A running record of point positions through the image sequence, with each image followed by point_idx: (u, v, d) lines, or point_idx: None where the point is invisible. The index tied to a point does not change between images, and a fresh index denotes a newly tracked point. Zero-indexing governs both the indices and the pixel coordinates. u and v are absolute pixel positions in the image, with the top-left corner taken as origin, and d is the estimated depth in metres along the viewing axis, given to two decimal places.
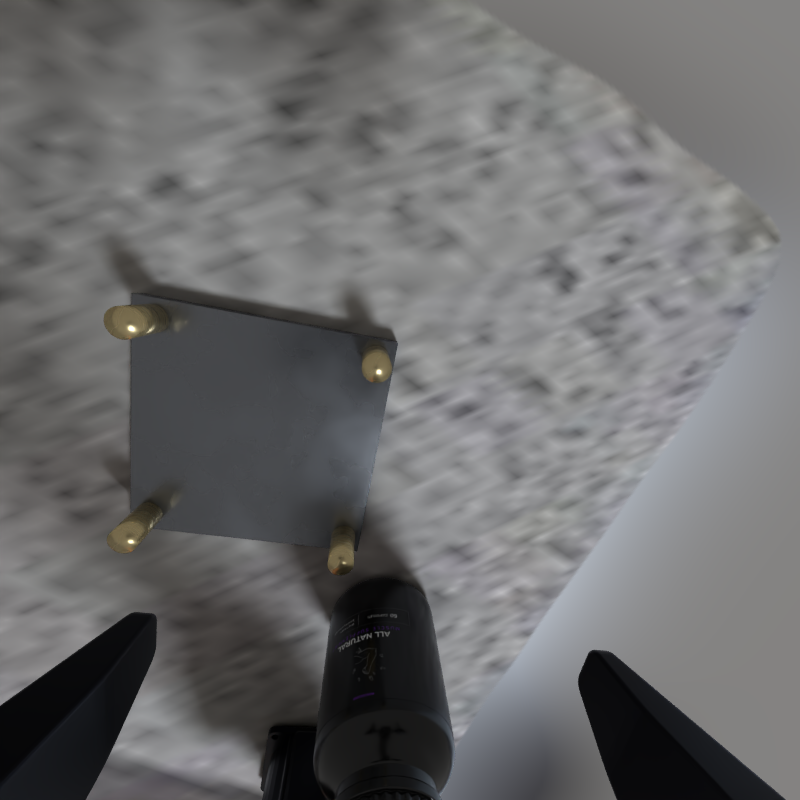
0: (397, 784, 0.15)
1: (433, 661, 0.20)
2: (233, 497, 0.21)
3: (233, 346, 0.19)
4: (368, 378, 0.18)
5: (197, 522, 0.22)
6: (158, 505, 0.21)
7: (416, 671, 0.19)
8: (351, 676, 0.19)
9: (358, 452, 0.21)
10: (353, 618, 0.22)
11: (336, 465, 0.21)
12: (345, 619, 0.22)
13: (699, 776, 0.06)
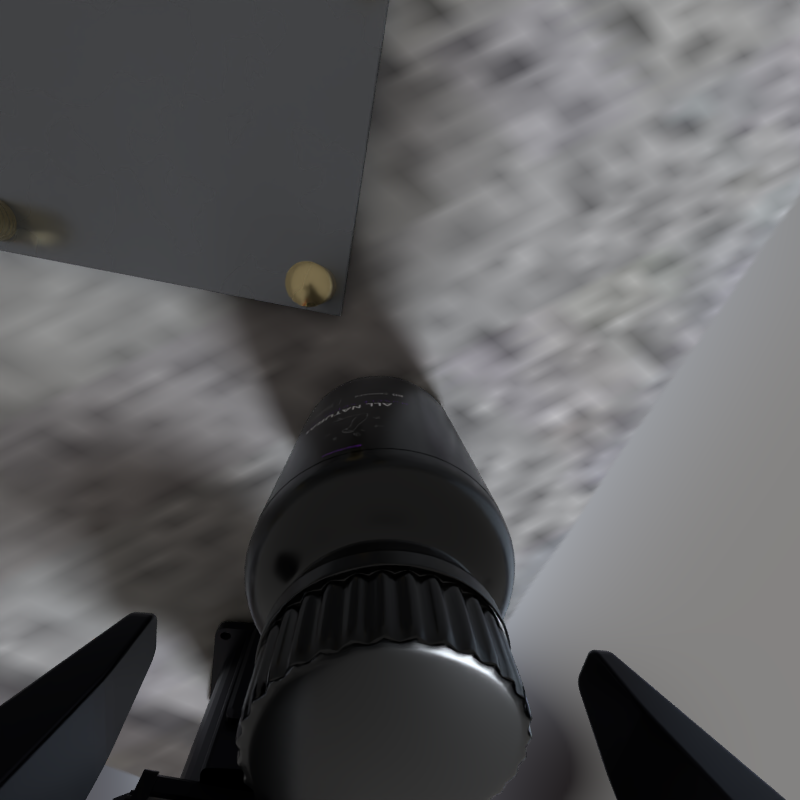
0: (409, 561, 0.07)
1: (465, 450, 0.12)
2: (134, 197, 0.13)
3: None
4: None
5: (77, 244, 0.13)
6: (7, 202, 0.13)
7: (439, 438, 0.10)
8: (321, 441, 0.10)
9: (339, 118, 0.13)
10: (333, 403, 0.13)
11: (303, 142, 0.13)
12: (319, 410, 0.14)
13: (699, 776, 0.06)
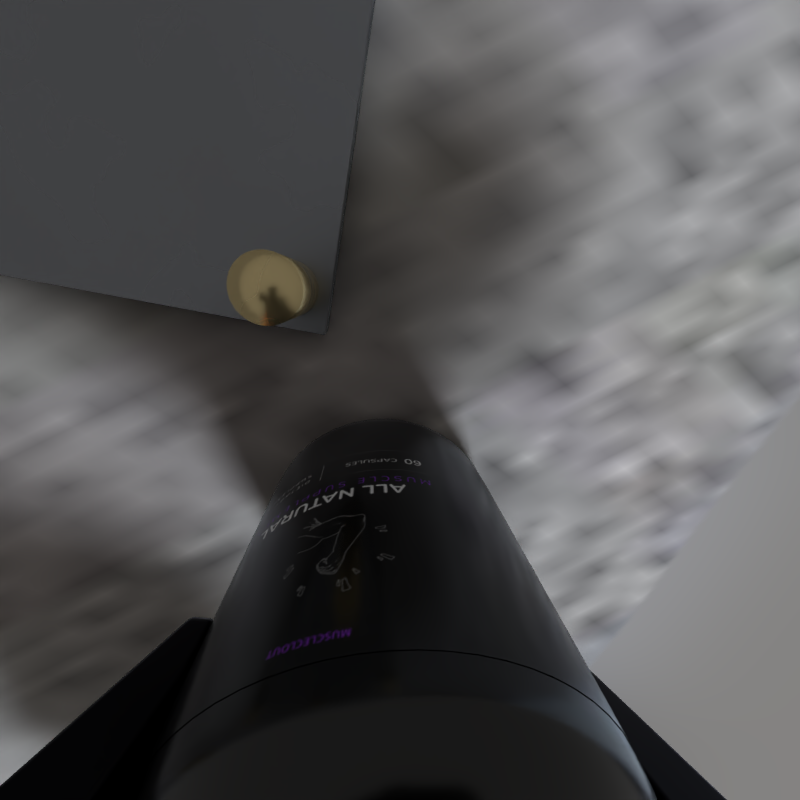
0: None
1: (528, 565, 0.07)
2: None
3: None
4: None
5: None
6: None
7: (497, 574, 0.06)
8: (277, 586, 0.05)
9: (320, 24, 0.08)
10: (312, 473, 0.09)
11: (263, 64, 0.08)
12: (291, 481, 0.09)
13: None
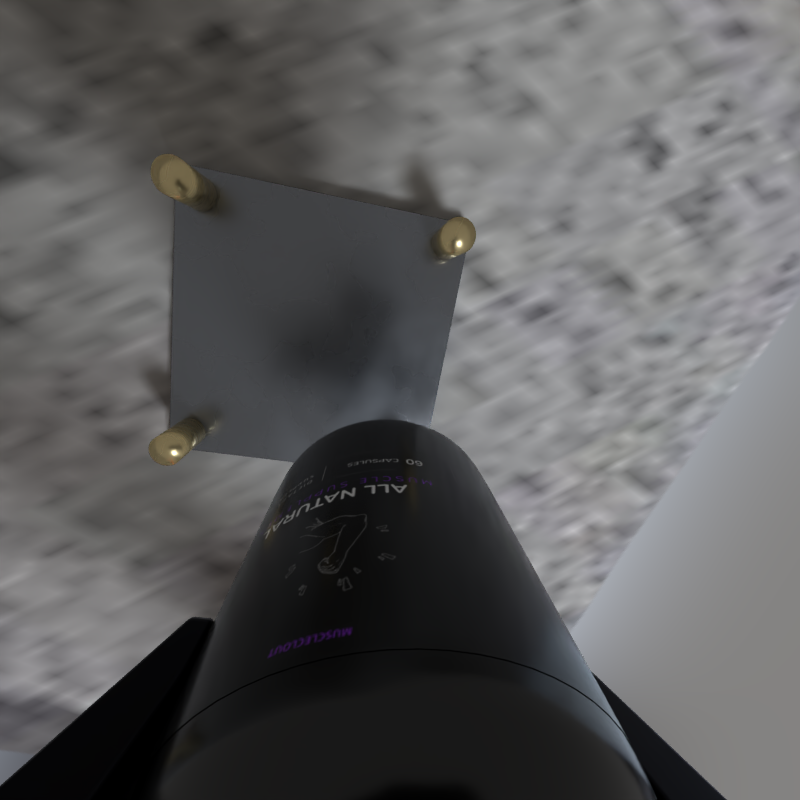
0: None
1: (529, 565, 0.07)
2: (284, 412, 0.19)
3: (288, 228, 0.17)
4: (448, 248, 0.15)
5: (244, 443, 0.19)
6: (201, 421, 0.19)
7: (498, 574, 0.06)
8: (280, 586, 0.05)
9: (424, 358, 0.19)
10: (314, 473, 0.09)
11: (399, 373, 0.19)
12: (294, 481, 0.09)
13: None
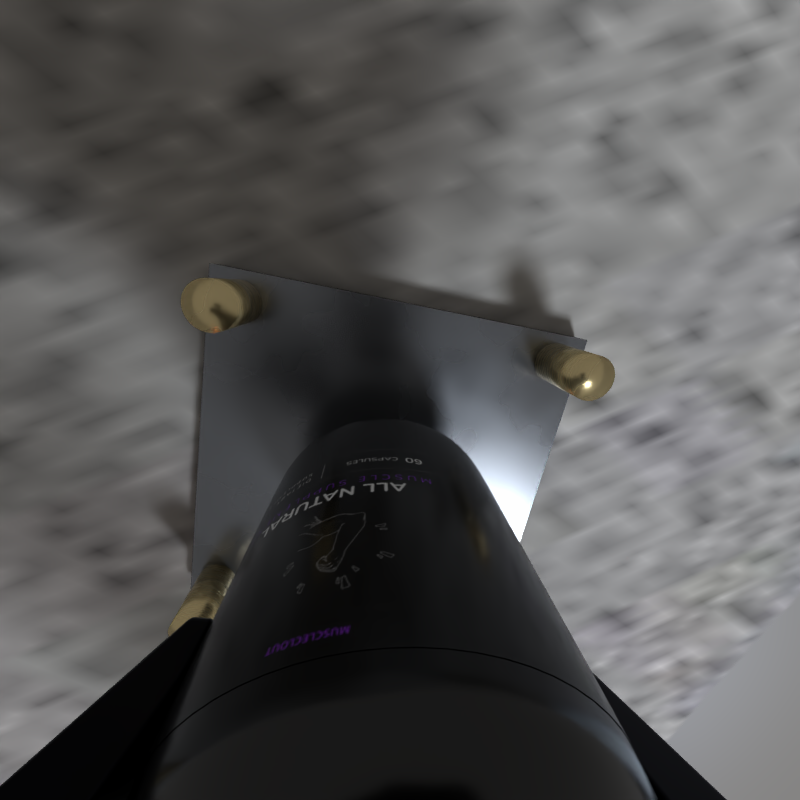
0: None
1: (529, 564, 0.07)
2: None
3: (353, 344, 0.13)
4: (577, 394, 0.11)
5: None
6: (231, 568, 0.15)
7: (497, 573, 0.06)
8: (277, 583, 0.05)
9: (511, 493, 0.15)
10: (312, 471, 0.09)
11: None
12: (293, 479, 0.09)
13: None
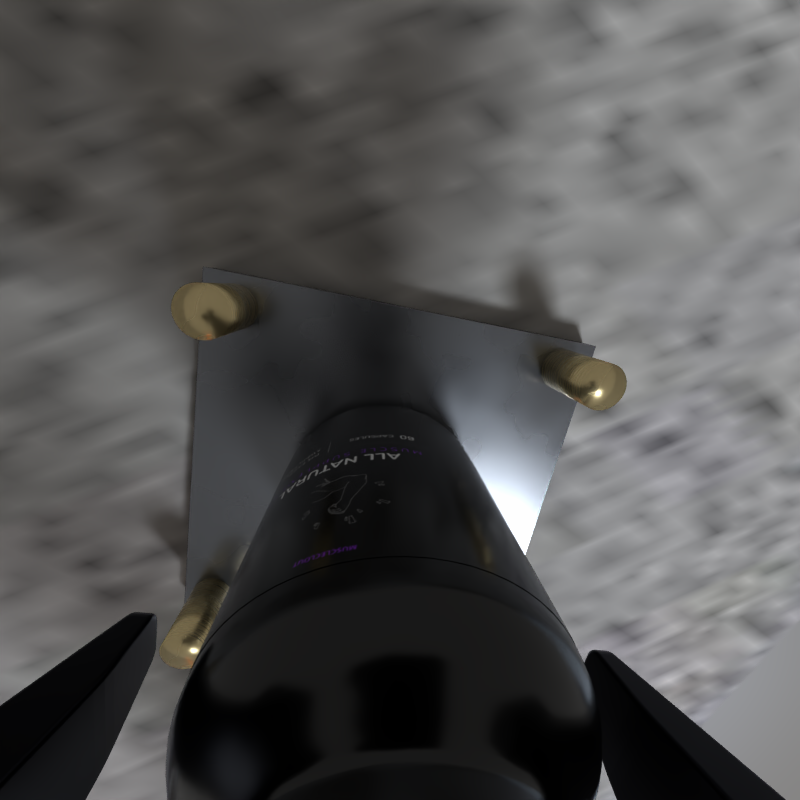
0: None
1: (503, 519, 0.09)
2: None
3: (353, 350, 0.12)
4: (587, 403, 0.11)
5: None
6: (226, 582, 0.14)
7: (473, 517, 0.07)
8: (297, 525, 0.07)
9: (517, 504, 0.15)
10: (320, 448, 0.10)
11: None
12: (302, 456, 0.10)
13: (699, 776, 0.06)
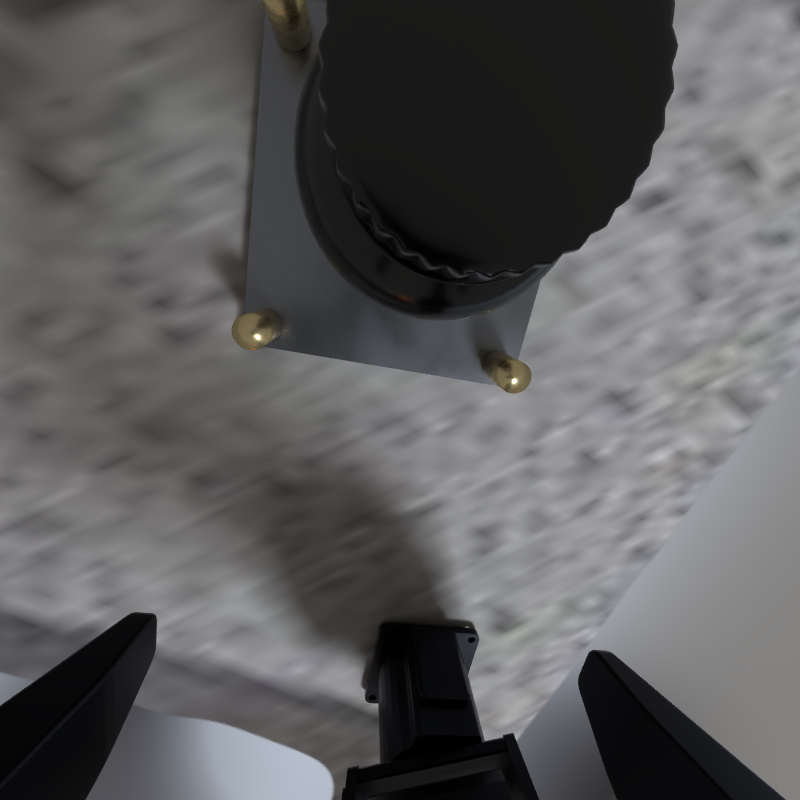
0: None
1: None
2: (371, 306, 0.17)
3: None
4: None
5: (324, 341, 0.17)
6: (278, 313, 0.17)
7: None
8: None
9: None
10: None
11: None
12: None
13: (699, 776, 0.06)
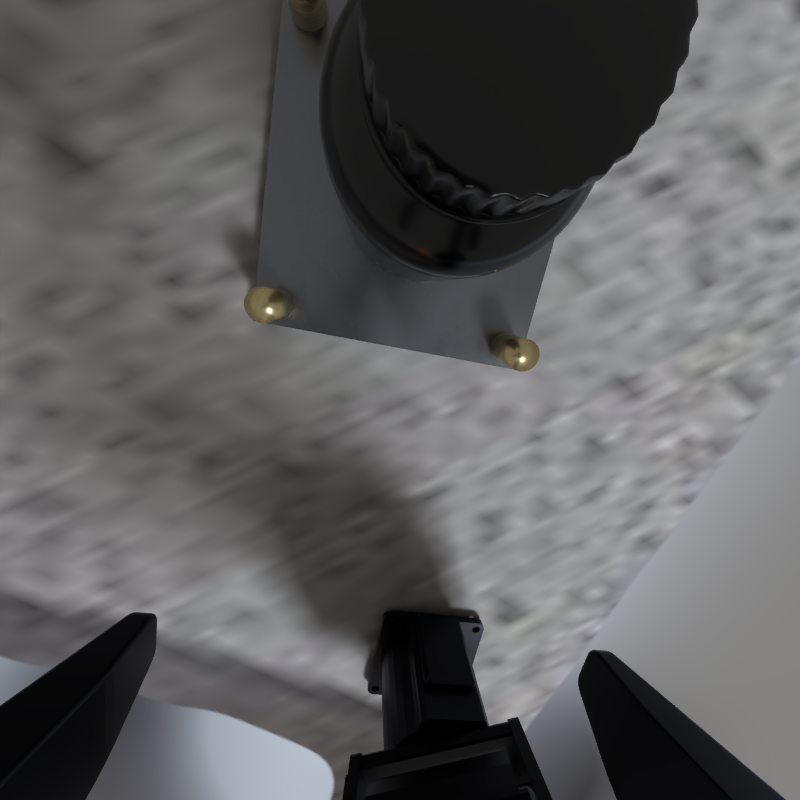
0: None
1: None
2: (380, 285, 0.17)
3: None
4: None
5: (333, 319, 0.18)
6: (289, 291, 0.17)
7: None
8: None
9: None
10: None
11: None
12: None
13: (699, 776, 0.06)
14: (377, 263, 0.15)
